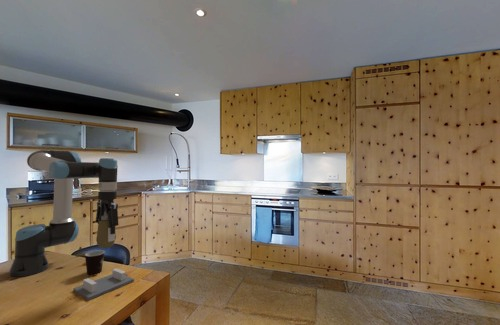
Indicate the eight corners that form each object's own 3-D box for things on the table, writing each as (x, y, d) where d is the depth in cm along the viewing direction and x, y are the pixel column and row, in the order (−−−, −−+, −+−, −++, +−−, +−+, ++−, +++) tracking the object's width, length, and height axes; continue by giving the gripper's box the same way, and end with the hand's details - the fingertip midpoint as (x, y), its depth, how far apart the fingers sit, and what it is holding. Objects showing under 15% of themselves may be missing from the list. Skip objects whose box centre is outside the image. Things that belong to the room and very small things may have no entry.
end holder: (73, 291, 106) (73, 280, 106) (117, 274, 123) (118, 265, 123) (88, 300, 99) (89, 289, 99) (133, 281, 116) (134, 271, 116)
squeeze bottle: (119, 245, 113) (120, 207, 114) (103, 250, 106) (104, 209, 106) (108, 242, 116) (109, 206, 117) (91, 247, 109) (92, 208, 110)
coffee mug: (94, 276, 120) (95, 256, 120) (80, 275, 121) (80, 255, 122) (112, 267, 131) (112, 249, 131) (98, 266, 133) (99, 248, 133)
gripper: (88, 190, 114) (86, 237, 114) (111, 192, 103) (110, 245, 103) (104, 189, 121) (103, 234, 120) (128, 191, 110) (126, 241, 109)
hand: (106, 239), depth 111 cm, fingers closed on squeeze bottle, 8 cm apart
